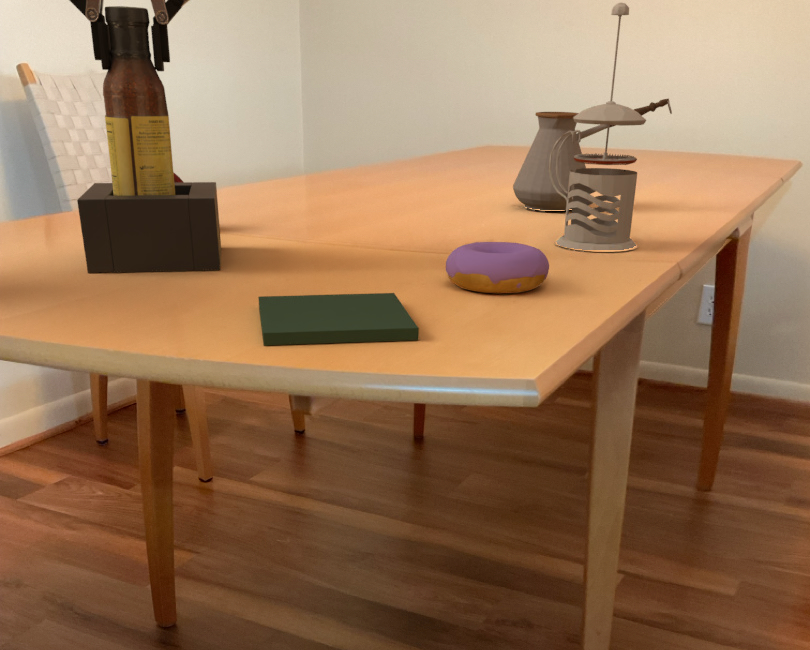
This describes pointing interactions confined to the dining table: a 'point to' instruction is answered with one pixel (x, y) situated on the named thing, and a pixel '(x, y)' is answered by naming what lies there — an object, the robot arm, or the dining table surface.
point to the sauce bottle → (136, 109)
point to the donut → (497, 267)
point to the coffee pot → (534, 172)
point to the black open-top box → (151, 229)
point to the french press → (600, 180)
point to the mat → (335, 319)
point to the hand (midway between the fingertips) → (133, 68)
